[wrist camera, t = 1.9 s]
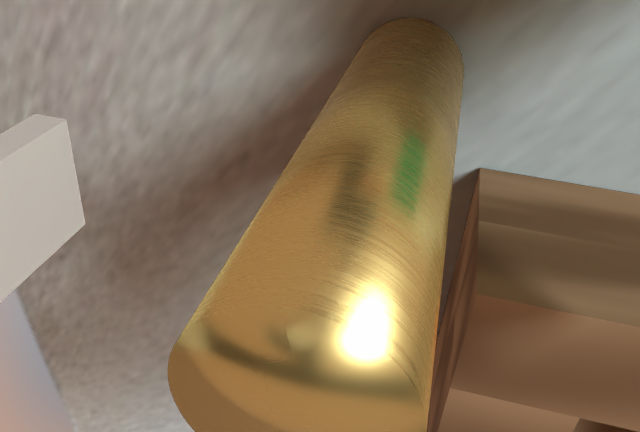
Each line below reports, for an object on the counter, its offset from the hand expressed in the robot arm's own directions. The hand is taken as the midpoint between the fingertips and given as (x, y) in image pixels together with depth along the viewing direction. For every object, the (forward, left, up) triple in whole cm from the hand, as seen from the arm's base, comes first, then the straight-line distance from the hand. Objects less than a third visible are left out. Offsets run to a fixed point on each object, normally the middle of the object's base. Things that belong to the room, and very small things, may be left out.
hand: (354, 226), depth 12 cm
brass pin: (0, 0, -9) cm, 9 cm away
